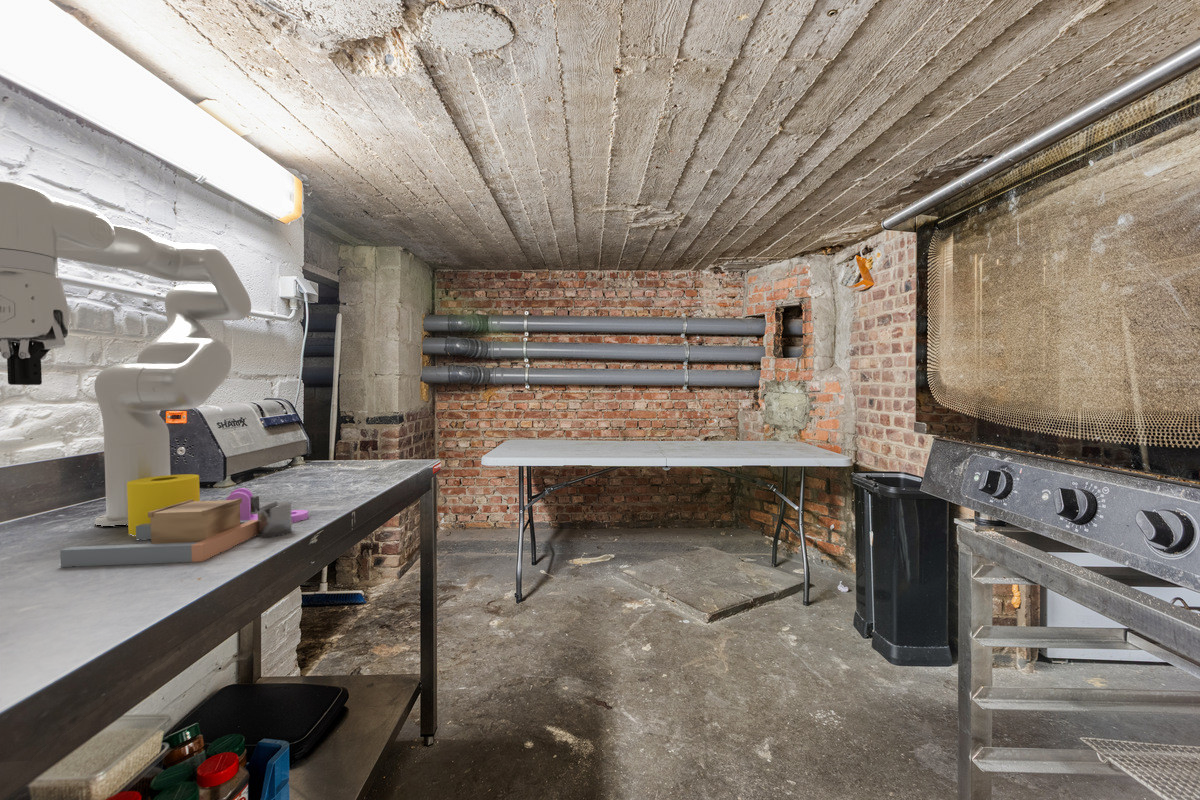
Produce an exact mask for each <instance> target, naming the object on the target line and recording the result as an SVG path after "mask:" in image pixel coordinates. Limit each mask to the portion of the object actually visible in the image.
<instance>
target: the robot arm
mask: <svg viewBox="0 0 1200 800" xmlns="http://www.w3.org/2000/svg"><path fill="white" fill-rule="evenodd" d="M58 259H63V260H68V261H73V262H74V261H76V262H81V263H86V264H93V265H98V266H102V267H108V268H113V269H115V268H116V269H121V270H128V271H132V272H135V273H138V274H144V275H147V276H151V277H154V278H157V279H161V280H166V281H170V282H183V283H185V282H187V283H188V282H189V283H194V282H195V283H211V284H182V285H177V286H174V287H172V288H171V289H169V290H168V291H167V293H166V295H165V297H164V308H165V314H166V320H167V328H166V329H164V331H162V332H161V333H160V334H159V335H157V336H156V337H155V338H153V340H152V341H150V342H149V343H147V344H146V345H145V346H144V347H143V348H142V349H141V351H140V352H139V354H138V355H137V359H136V363H120V364H115V365H111V366H109V367H105V368H104V369H103V370H101V371H100V372H99V373H98V374H97V375H96V378H95V381H94V393H95V397H96V400H97V403H98V406H99V408H100V413H101V417H102V418H101V419H102V425H103V448H104V449H103V452H104V453H103V455H104V480H105V482H104V483H105V485H104V486H105V489H104V490H105V513H106V514H103V515H99V516H98V517H95V518H94V525H95V524H96V525H95V526H97V525H101V526H100V527H103V526H111V525H124V524H128V499H127V482H129V481H132V480H136V479H142V478H148V477H156V476H165V475H171V450H170V449H171V447H170V445H171V444H170V442H171V441H170V440H171V439H170V430H169V428H168V425H167V424H166V421H165V420H164V419H163V418H162V417H161V415H160V414H159V413H158V412H157V411H183V410H184V411H185V410H193V409H196V408H198V407H200V406H201V405H203V404H204V403H205V402H207V400H208V399H209V398H210V397H211V395H212V394H214V392H215V391H216V390H217V388H219V386H220V385H221V384H222V383H223V381H224V380H226V378H227V377H228V375H229V373H230V371H231V368H232V360H233V359H232V354H231V351H230V348H228V346H227V345H226V344H225V342H223V341H221V340H219V339H217V338H211V335H210V333H209V332H208V331H207V329H206V328H205V326H203V325H202V324H201V323H200V322H201V321H241V320H244V319H246V318H247V317H248V316H249V315H250V314H251V311H252V301H251V298H250V295H249V293H248V291H247V289H246V288H245V286H244V284H243V282H242V280H241V279H240V277H239V275H238V274H237V272H236V270H235V269H234V267H233V265H232V264H231V263H230V261H229V259H228V258H227V256H226V255H225V254H224V253H223V252H222V251H221V250H220V249H219V248H217V247H216V246H214V245H211V244H207V243H206V244H205V243H204V244H203V243H182V242H174V241H170V240H168V239H165V238H162V237H161V236H158V235H157V236H156V235H154V234H152V233H149V232H147V231H144V230H142V229H139V228H137V227H132V226H131V227H130V226H124V225H117V224H112V223H111V221H109V219H108V218H107V217H106V216H105V215H103V214H102V213H100V212H99V211H97V210H95V209H94V208H91V207H88V206H85V205H82V204H79V203H74V202H70V201H66V200H63V199H59V198H56V197H52V196H50V194H47V193H46V192H45V191H42V190H40V189H38V188H36V187H35V188H34V187H31V186H27V185H24V184H21V183H16V182H15V183H14V182H9V181H0V353H1V354H0V355H1V357H2V358H3V359H5V360H6V363H7V365H6V366H7V367H6V368H7V371H6V372H7V384H8V385H10V386H13V385H14V386H16V385H17V386H41V385H42V383H43V380H42V379H43V377H42V361H43V360H46V358H47V354H48V352H50V351H51V350H53V349H58V348H62V347H65V345H66V342H65V339H66V338H67V337H68V336H69V331H70V318H69V317H70V315H69V308H68V301H67V296H66V292H65V289H64V285H63V282H62V280H61V278H59V272H58V271H59V267H58V266H59V265H58V264H59V263H58V262H59V261H58Z"/></svg>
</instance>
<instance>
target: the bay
mask: <svg viewBox="0 0 1200 800" xmlns="http://www.w3.org/2000/svg"><path fill="white" fill-rule="evenodd" d="M255 535H257V536H258V520H240V525H239V526H236V527H234V528H231V529H229V530H227V531H224V532H222V533H219V534H217V535H215V536H212V537H210V538H208V539H205V540H203V541H200V542H189V543H162V544H151V543H142V544H141V543H140V544H139V543H137V544H115V545H114V544H112V545H109V544H108V545H90V546H89V545H87V546H85V545H83V546H82V545H81V546H70V547H66V548H62V549H60V550H59V552H60V554H59V555H60V556H59V557H60V568H68V567H69V568H70V567H72V566H76V567H98V566H120V565H143V564H145V565H146V564H166V563H167V564H169V563H191V562H193V563H194V562H198V563H199V562H204V561H206V560H208V559H211V558H213V557H215V556H217V555H218V554H221V553H223V552H225V551H227V550H229V549H231V548H233V546H234V547H236V546H237V544H238V545H240V544H242V543H244V542H246V541H248V540H250V539H252V538H254V537H256V536H255ZM253 536H254V537H253ZM251 537H252V538H251ZM249 538H250V539H249ZM136 539H151V523H149V524H141V525H138V526H136V536H135V540H136ZM247 539H248V540H247ZM245 540H246V541H245ZM241 542H242V543H241ZM239 543H240V544H239ZM235 545H236V546H235ZM220 552H221V553H220ZM214 555H215V556H214ZM212 556H213V557H212ZM210 557H211V558H210Z"/></svg>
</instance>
